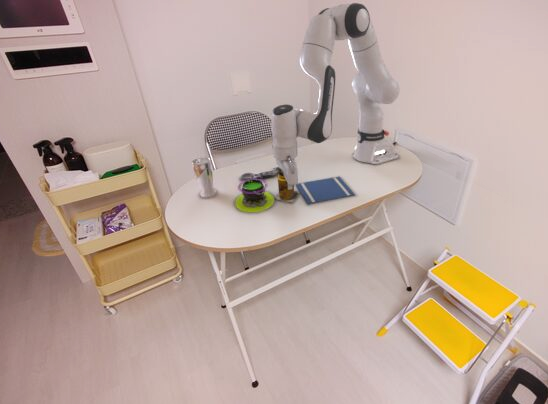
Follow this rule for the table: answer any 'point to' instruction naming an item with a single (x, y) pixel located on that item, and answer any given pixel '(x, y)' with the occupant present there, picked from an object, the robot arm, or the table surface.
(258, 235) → the table surface
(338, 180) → the blue board
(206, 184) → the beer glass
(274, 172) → the knife
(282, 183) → the condiment
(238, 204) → the toy cauldron
